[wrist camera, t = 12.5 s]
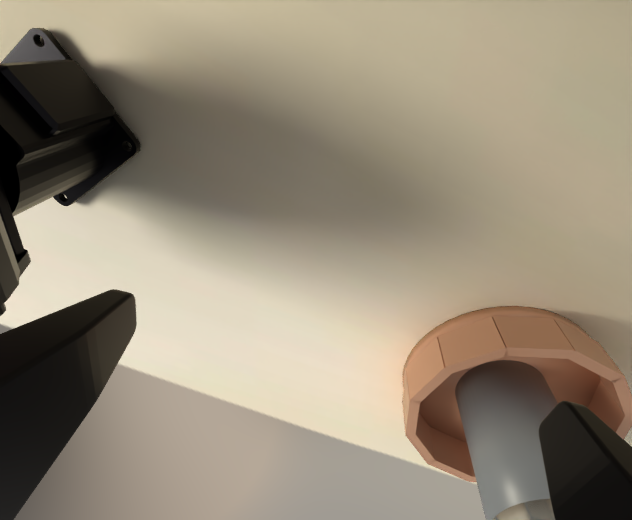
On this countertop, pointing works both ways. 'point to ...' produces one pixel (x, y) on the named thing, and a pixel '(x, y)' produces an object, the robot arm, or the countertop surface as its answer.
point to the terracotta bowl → (504, 344)
